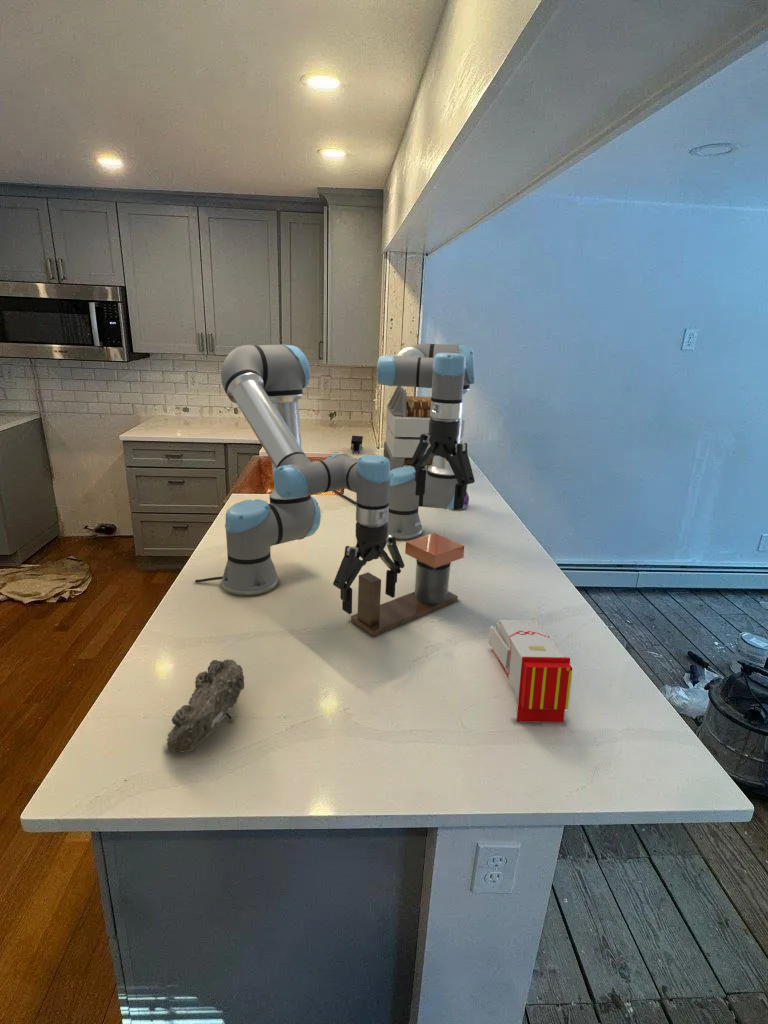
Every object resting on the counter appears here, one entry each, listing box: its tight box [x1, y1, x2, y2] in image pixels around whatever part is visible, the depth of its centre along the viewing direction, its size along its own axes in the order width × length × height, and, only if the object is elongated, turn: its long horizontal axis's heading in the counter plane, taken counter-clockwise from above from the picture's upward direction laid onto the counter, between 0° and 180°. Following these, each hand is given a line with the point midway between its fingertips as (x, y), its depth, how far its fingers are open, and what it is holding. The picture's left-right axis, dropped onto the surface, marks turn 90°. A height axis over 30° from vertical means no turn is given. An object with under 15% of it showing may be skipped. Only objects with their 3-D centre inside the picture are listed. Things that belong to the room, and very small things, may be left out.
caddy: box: [350, 559, 459, 637], centre depth 147 cm, size 30×9×14 cm, turn 131°
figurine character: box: [350, 435, 364, 454], centre depth 309 cm, size 7×8×15 cm
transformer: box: [383, 386, 465, 471], centre depth 268 cm, size 34×33×41 cm
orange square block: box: [404, 532, 465, 568], centre depth 150 cm, size 11×11×5 cm
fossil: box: [166, 658, 245, 754], centre depth 106 cm, size 22×10×15 cm
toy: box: [488, 619, 573, 723], centre depth 122 cm, size 12×13×30 cm
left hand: (369, 603), depth 139 cm, fingers open, 13 cm apart
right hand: (438, 501), depth 145 cm, fingers open, 13 cm apart
